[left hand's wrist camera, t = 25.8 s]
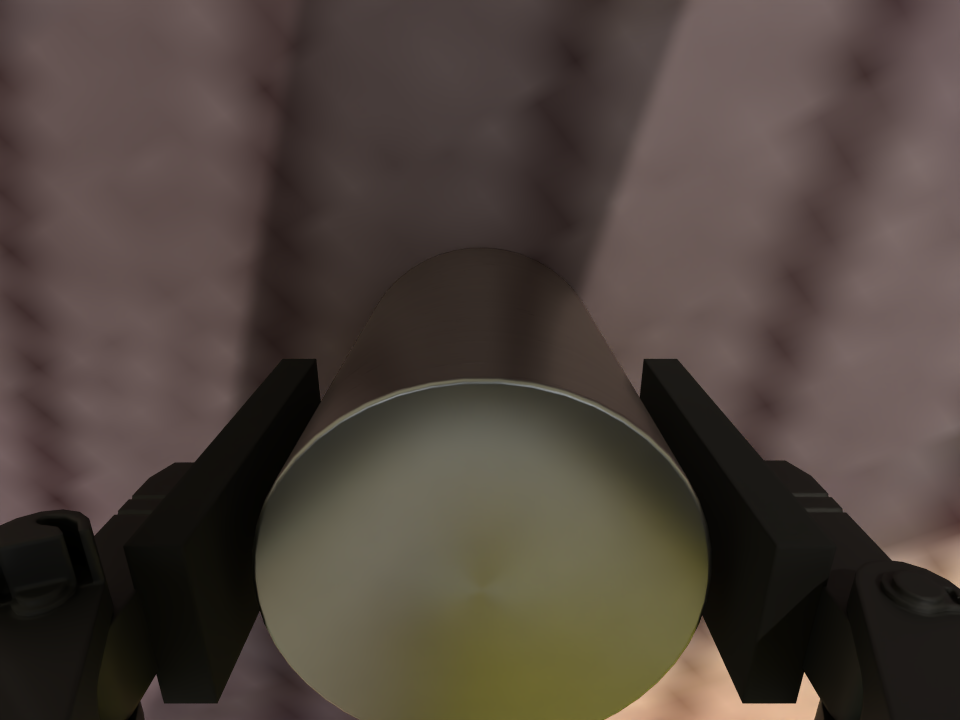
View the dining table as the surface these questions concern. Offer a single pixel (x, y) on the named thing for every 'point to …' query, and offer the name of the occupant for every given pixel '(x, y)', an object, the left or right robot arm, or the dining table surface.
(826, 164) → the dining table surface
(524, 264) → the canister
